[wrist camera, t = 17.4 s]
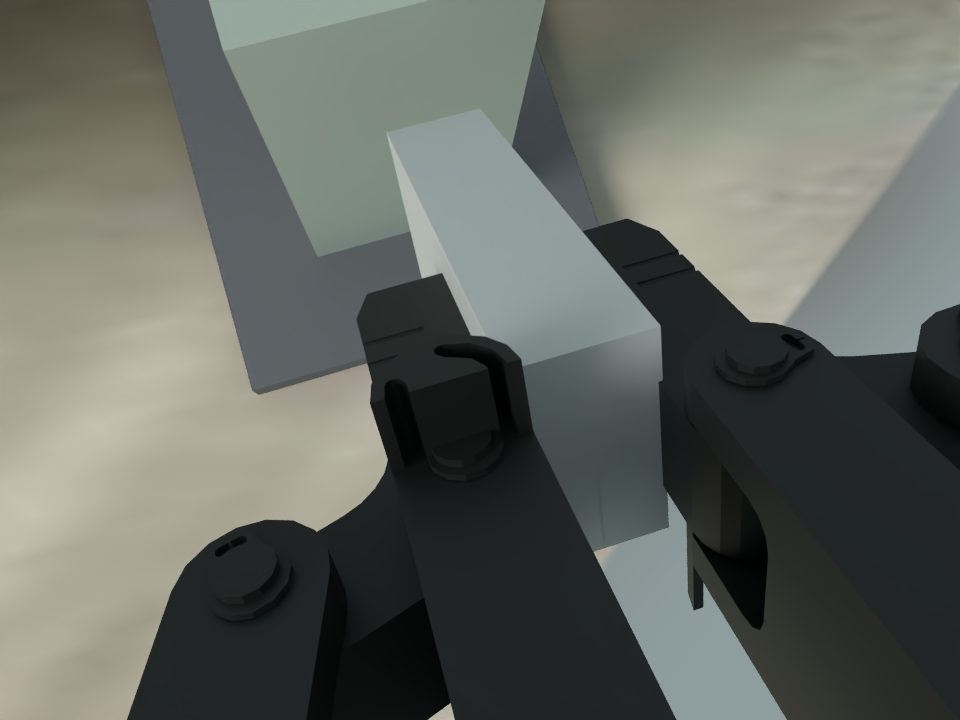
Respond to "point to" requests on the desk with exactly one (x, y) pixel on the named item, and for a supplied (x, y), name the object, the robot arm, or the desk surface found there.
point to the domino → (369, 92)
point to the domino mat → (276, 224)
